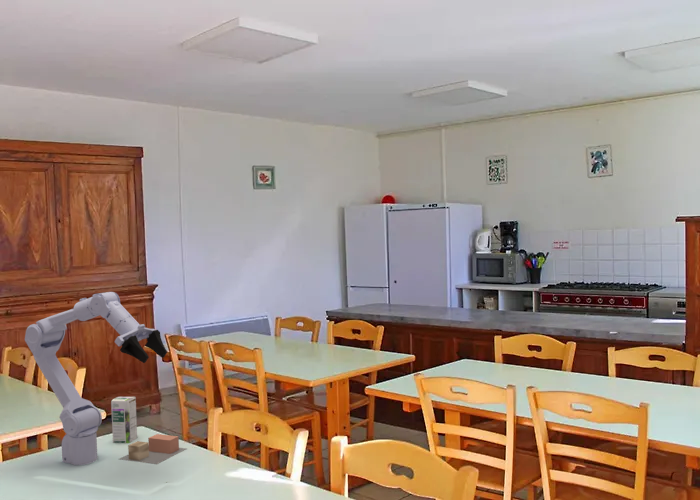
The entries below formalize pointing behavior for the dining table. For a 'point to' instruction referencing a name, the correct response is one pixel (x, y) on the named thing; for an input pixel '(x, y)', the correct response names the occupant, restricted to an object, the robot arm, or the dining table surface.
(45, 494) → the dining table surface
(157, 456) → the building plate
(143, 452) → the beech cube
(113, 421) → the syrup box
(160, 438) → the terracotta brick
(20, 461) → the dining table surface
